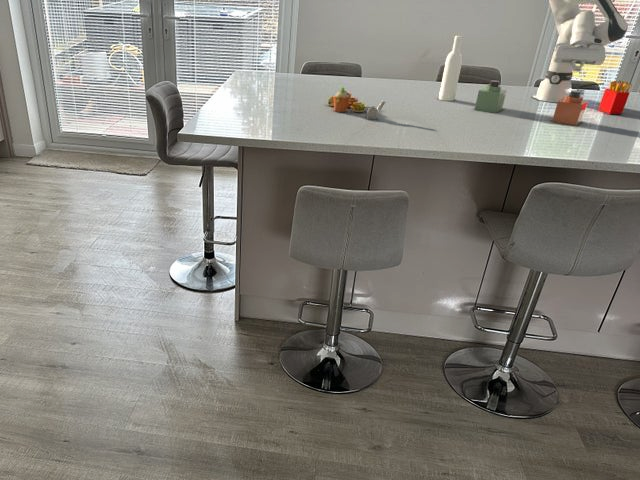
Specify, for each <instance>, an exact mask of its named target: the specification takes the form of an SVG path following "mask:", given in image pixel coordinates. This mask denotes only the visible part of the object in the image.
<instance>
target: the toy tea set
mask: <svg viewBox="0 0 640 480" xmlns="http://www.w3.org/2000/svg"><path fill="white" fill-rule="evenodd" d="M326 105H327V106H330V107H333V111H334V112H337V113H345V112H347V110H348V109H350V111H352V112H354V113H363V112H365V110H366V109H367V105H365V103H364V102H363V101H360V102H359V99H358V98H357V97H352V93H351V92H348V91H347V90H345V87H341V89H340V90H338V91H337V92H336V94H334V95H333V96H329V97H328V99H327V102H326Z"/></svg>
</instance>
